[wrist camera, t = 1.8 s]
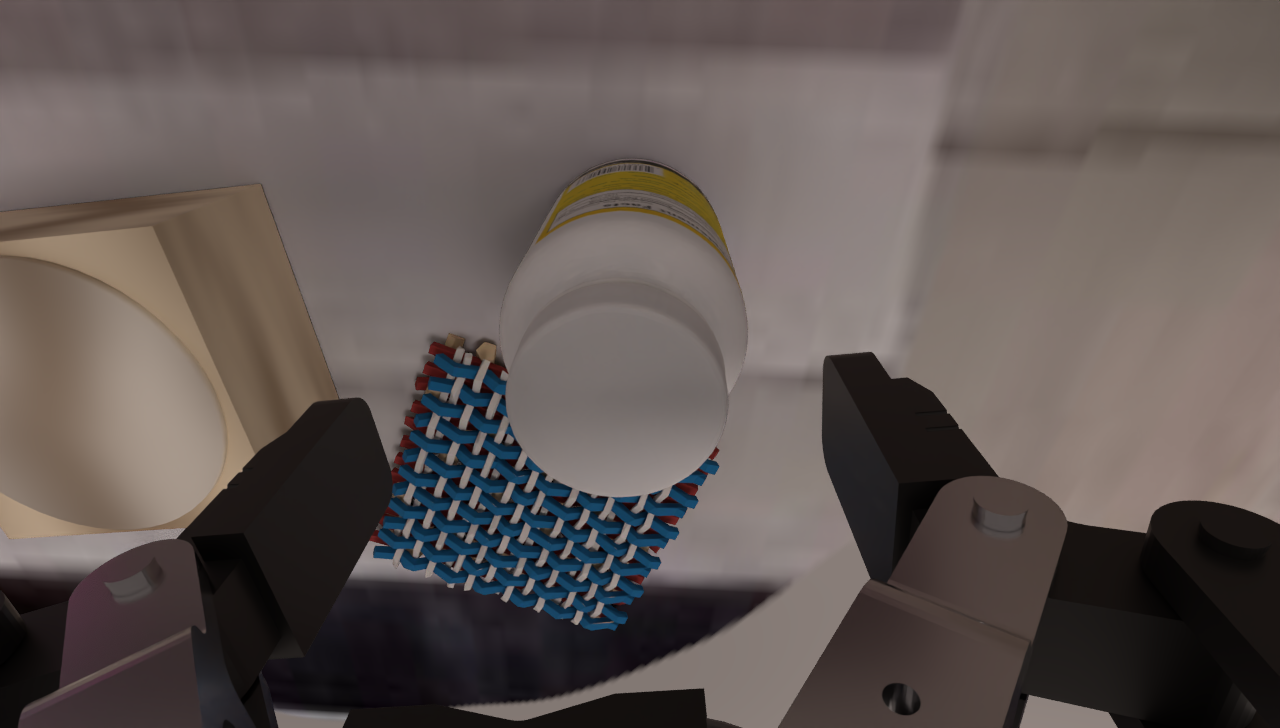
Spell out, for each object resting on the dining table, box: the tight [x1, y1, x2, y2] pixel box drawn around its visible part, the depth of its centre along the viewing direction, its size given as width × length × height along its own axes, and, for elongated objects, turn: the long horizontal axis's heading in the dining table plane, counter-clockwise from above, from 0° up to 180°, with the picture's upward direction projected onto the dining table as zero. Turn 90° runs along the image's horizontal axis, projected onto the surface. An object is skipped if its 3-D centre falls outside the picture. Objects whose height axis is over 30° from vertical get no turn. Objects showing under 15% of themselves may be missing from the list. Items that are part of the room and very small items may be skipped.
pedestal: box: [0, 184, 339, 539], centre depth 20 cm, size 9×9×5 cm
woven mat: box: [369, 333, 719, 631], centre depth 24 cm, size 10×11×2 cm
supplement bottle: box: [499, 159, 748, 497], centre depth 16 cm, size 5×5×10 cm
